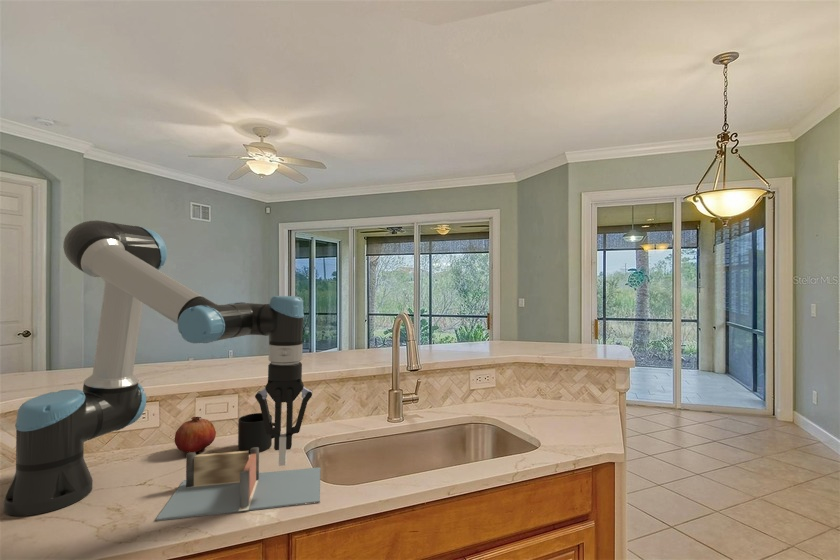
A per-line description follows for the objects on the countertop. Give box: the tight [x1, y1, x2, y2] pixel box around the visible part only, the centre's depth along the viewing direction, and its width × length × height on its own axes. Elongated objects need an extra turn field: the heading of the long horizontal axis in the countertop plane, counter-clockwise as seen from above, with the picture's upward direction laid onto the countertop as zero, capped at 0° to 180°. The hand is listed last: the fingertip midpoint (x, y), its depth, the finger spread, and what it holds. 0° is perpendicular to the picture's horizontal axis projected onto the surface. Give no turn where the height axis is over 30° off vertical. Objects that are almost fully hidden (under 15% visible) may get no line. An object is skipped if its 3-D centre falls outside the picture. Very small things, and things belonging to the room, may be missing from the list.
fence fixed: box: [185, 447, 260, 487], centre depth 103 cm, size 16×2×8 cm, turn 103°
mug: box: [237, 412, 275, 454], centre depth 127 cm, size 9×12×9 cm
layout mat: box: [155, 466, 321, 522], centre depth 99 cm, size 33×18×1 cm, turn 103°
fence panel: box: [240, 454, 256, 508], centre depth 97 cm, size 13×2×7 cm, turn 13°
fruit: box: [174, 416, 217, 453], centre depth 124 cm, size 11×10×10 cm
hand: (282, 463), depth 98 cm, fingers closed
